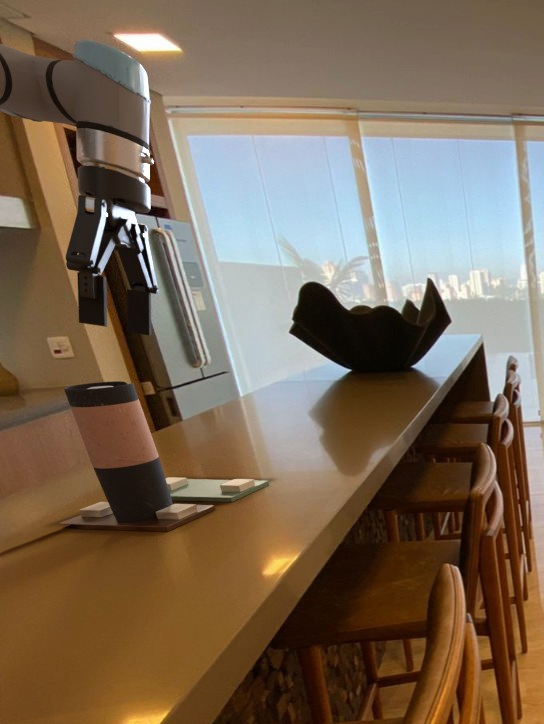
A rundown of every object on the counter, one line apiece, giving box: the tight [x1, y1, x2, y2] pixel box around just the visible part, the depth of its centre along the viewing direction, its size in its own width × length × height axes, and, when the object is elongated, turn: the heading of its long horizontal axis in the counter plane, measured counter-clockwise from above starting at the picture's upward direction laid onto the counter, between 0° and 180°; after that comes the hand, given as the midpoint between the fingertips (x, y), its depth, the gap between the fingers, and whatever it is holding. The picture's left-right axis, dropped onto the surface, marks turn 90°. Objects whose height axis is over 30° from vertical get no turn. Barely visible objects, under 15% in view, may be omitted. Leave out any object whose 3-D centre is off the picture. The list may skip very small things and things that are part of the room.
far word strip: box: [165, 476, 270, 503], centre depth 100 cm, size 18×9×2 cm, turn 85°
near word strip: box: [59, 501, 216, 533], centre depth 88 cm, size 18×9×2 cm, turn 85°
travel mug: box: [64, 380, 174, 523], centre depth 85 cm, size 8×8×20 cm
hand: (118, 330), depth 83 cm, fingers open, 13 cm apart
